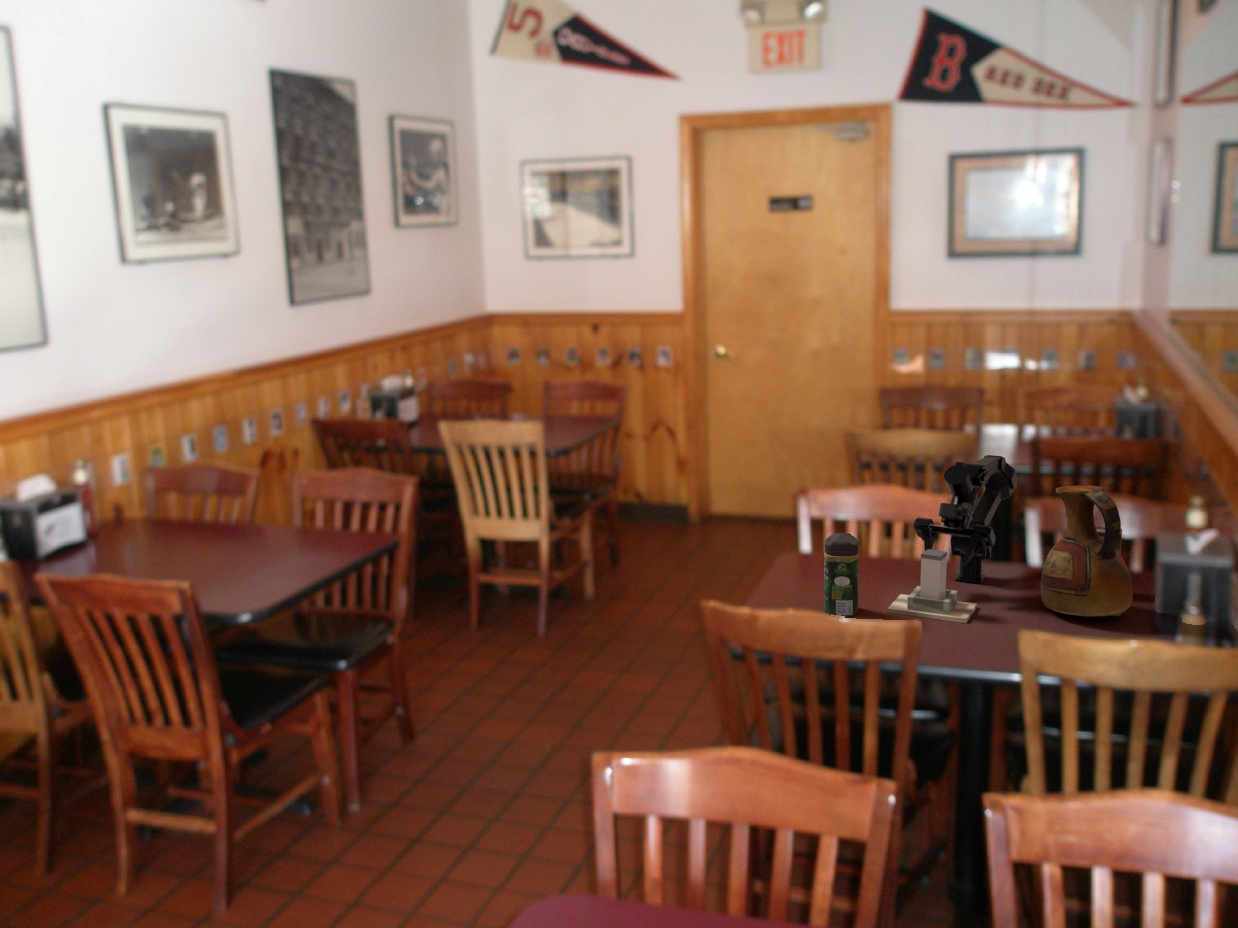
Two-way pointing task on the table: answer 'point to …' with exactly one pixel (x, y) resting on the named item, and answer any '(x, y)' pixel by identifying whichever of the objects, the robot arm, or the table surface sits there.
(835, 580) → the coffee jar
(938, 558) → the connector plug
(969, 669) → the table surface
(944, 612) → the end holder
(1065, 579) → the ceramic pitcher
